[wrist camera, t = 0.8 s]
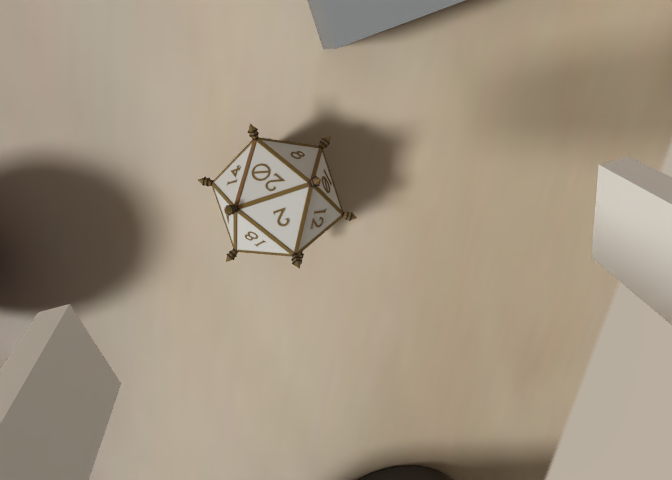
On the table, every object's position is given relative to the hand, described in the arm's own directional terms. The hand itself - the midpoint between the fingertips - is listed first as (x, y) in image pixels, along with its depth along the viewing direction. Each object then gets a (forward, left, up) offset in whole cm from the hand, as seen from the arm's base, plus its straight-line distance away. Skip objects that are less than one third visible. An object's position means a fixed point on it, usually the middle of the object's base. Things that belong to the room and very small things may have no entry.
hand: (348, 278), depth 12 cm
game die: (-3, +2, -22) cm, 22 cm away
